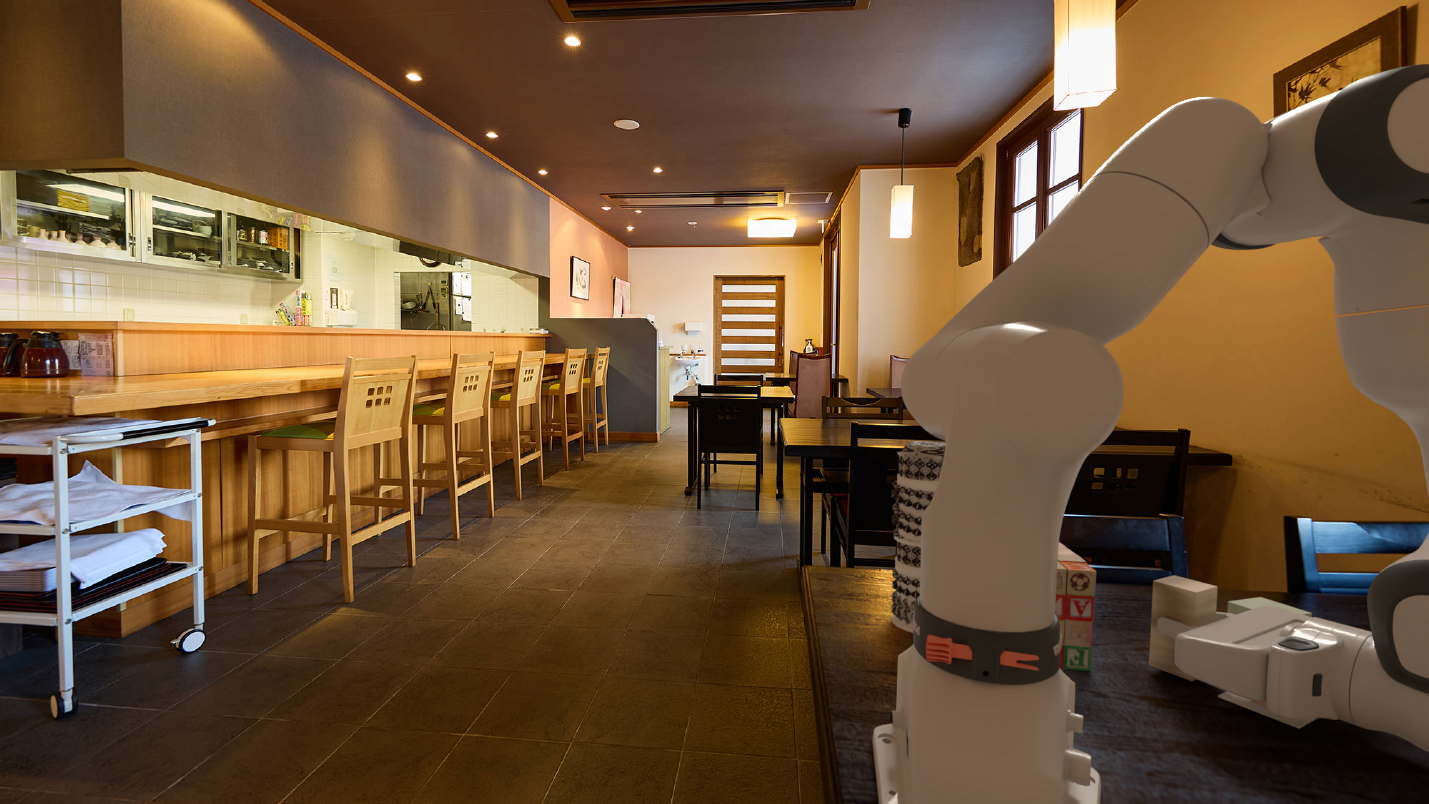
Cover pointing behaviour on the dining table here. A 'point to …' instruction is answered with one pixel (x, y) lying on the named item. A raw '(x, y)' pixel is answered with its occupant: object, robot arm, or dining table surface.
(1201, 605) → the maple column
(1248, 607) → the tower base
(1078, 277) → the robot arm
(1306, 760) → the dining table surface
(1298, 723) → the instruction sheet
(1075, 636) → the stack of blocks
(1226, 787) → the dining table surface
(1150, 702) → the dining table surface
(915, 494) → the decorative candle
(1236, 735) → the dining table surface
